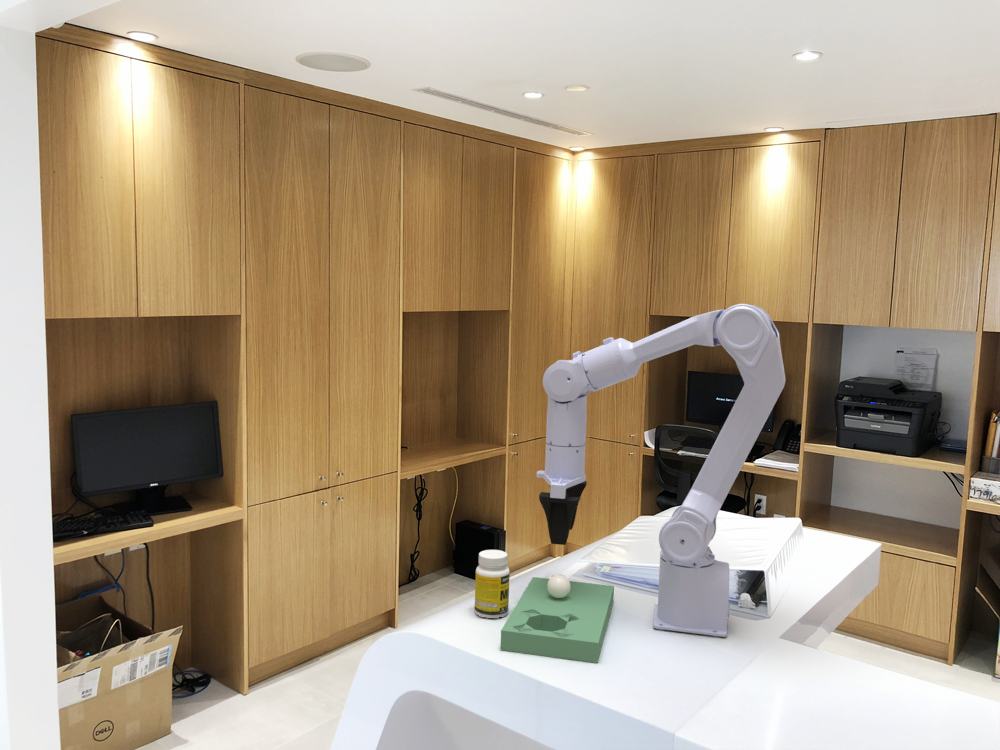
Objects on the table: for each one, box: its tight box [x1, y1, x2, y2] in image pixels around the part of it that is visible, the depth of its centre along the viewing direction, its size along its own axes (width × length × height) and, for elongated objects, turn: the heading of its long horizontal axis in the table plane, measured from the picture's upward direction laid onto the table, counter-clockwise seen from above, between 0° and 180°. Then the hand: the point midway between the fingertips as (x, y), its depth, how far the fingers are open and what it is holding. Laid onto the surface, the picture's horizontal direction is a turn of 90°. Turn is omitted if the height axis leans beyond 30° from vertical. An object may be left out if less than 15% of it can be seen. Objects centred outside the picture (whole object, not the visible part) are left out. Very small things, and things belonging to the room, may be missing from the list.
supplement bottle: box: [474, 549, 511, 619], centre depth 106 cm, size 5×5×8 cm
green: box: [500, 576, 615, 664], centre depth 103 cm, size 12×20×2 cm, turn 166°
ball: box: [547, 574, 570, 598], centre depth 106 cm, size 3×3×3 cm
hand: (562, 536), depth 111 cm, fingers open, 7 cm apart
